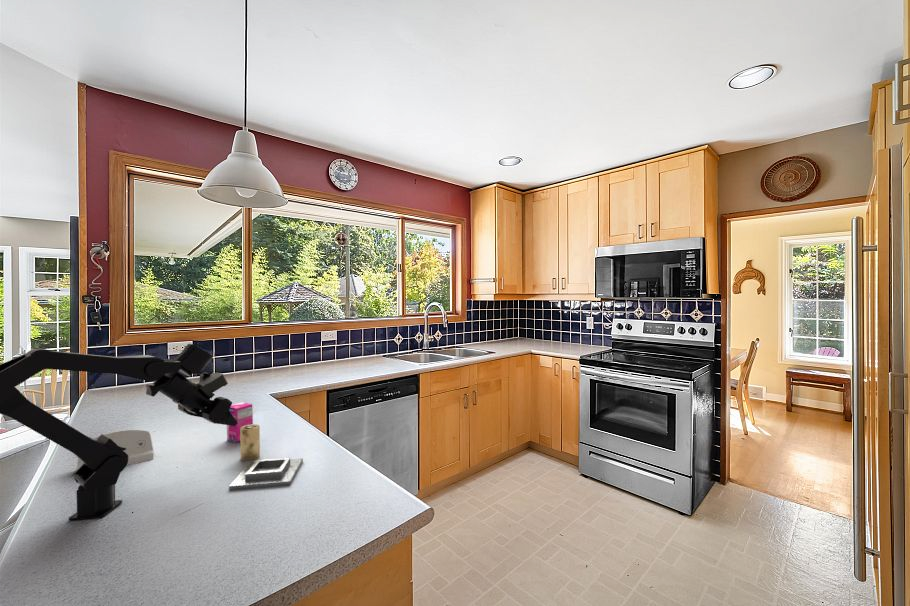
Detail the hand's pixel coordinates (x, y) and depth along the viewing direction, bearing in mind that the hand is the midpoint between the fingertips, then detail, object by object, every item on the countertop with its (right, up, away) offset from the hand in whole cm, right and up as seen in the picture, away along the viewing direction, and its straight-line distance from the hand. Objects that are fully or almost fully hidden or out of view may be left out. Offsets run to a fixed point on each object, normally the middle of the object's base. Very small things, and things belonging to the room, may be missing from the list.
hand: (227, 421), depth 108 cm
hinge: (-33, -13, +3) cm, 36 cm away
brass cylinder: (+4, -12, +5) cm, 14 cm away
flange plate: (+15, -12, -6) cm, 20 cm away
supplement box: (-8, -12, +21) cm, 25 cm away
